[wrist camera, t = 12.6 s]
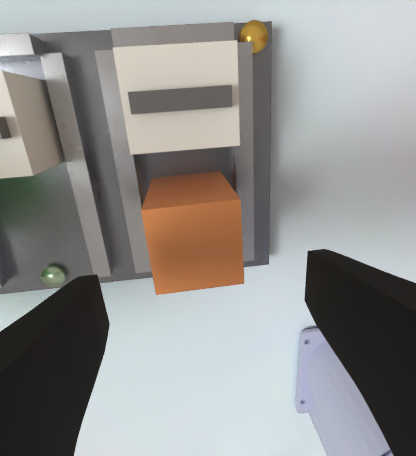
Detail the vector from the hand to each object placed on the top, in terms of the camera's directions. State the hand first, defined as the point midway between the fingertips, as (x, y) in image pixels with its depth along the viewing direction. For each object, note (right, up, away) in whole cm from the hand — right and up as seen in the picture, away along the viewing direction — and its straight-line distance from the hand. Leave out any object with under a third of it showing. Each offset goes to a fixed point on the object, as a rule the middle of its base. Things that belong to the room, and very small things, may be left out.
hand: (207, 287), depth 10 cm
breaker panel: (-5, +6, +8) cm, 11 cm away
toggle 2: (-2, +9, +6) cm, 11 cm away
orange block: (-1, +3, +8) cm, 9 cm away
